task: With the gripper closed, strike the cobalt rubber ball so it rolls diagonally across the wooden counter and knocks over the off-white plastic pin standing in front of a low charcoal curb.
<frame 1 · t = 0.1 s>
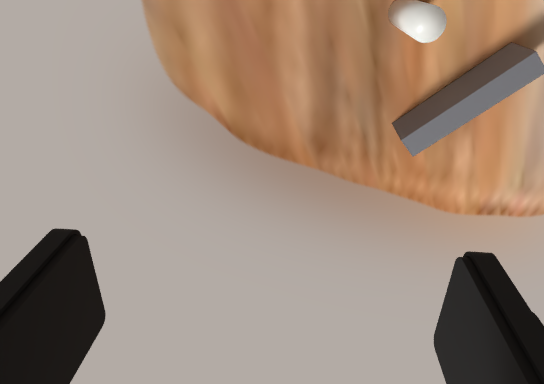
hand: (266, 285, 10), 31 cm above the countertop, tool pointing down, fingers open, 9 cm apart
pin: (402, 12, 35), on the countertop
curb: (453, 93, 38), on the countertop
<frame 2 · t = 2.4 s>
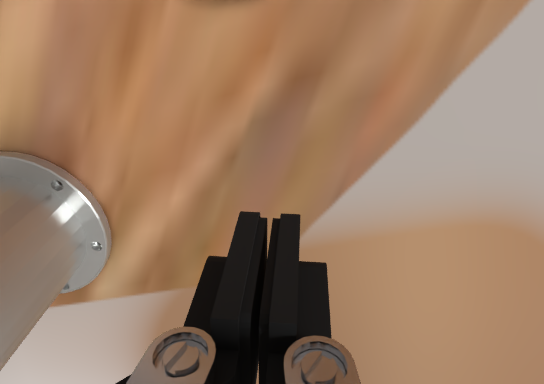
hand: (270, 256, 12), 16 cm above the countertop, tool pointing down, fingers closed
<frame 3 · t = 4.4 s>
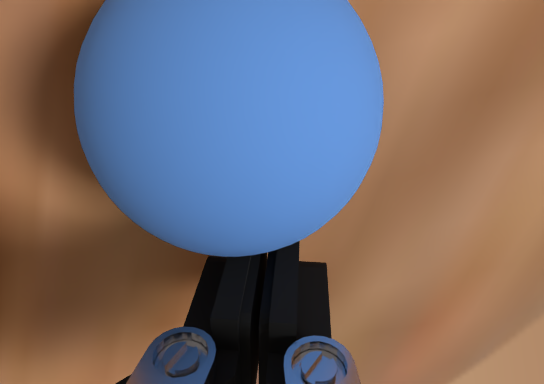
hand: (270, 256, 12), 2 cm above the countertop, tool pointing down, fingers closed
ball: (234, 110, 8), on the countertop, touching gripper
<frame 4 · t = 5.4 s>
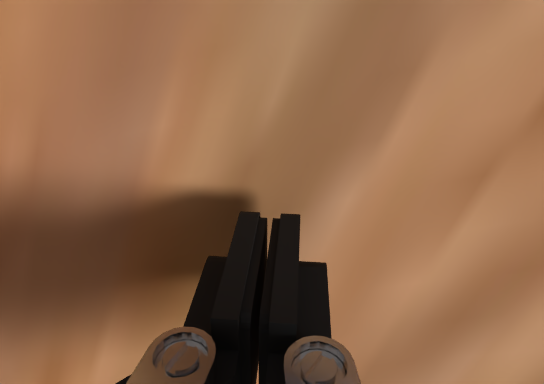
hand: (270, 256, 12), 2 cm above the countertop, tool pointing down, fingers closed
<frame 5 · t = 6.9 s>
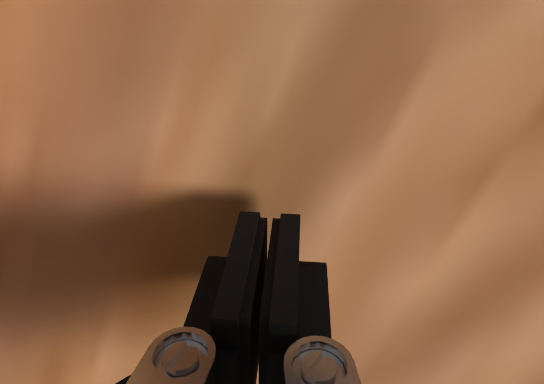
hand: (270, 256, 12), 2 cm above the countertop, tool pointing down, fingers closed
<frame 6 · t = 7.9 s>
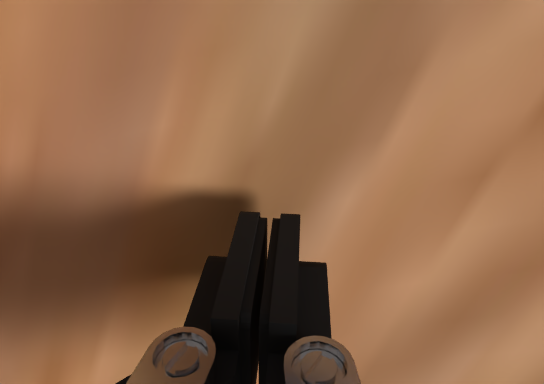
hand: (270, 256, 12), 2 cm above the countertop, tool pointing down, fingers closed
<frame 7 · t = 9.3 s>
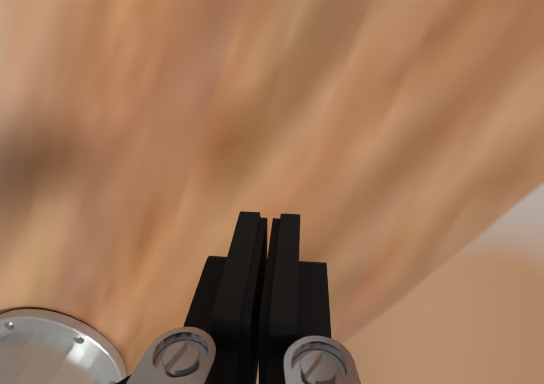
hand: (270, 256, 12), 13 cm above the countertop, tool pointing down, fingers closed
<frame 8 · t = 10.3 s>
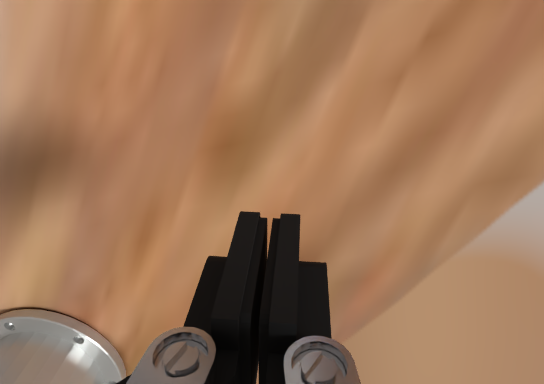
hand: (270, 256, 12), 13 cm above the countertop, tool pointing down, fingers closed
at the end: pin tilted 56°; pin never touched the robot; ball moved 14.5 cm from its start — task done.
